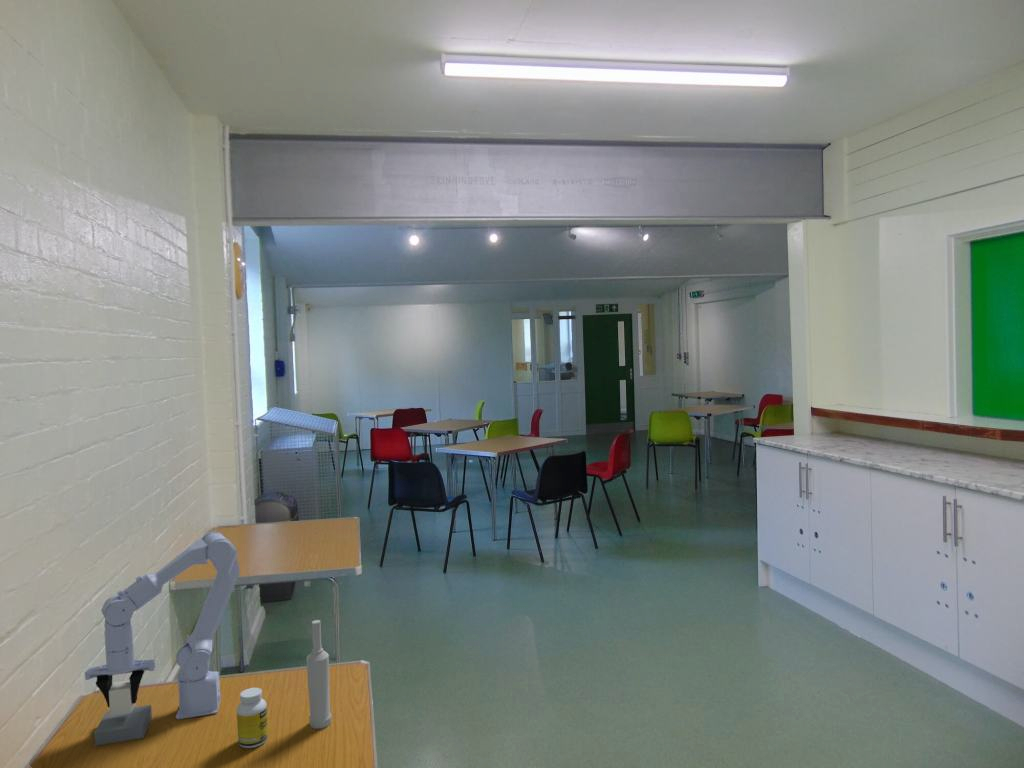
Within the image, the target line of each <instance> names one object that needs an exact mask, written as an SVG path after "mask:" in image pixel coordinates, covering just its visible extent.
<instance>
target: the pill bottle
mask: <svg viewBox="0 0 1024 768" xmlns="http://www.w3.org/2000/svg"><path fill="white" fill-rule="evenodd" d="M262 690H263V689H261V688H260V687H250V688H247V689H244V690H242V691H241V692H240V694H239V697H240V699H239V700H240V703H239V704H238V705H237V707H236V722H237V723H236V724H237V725H236V726H237V740H238V741H237V743H238V745H239V746H240V747H242V748H244V749H253V748H257V747H259V746H261V745H263V744H264V743H265V742H266V741H267V740H268V739H269V732H268V731H269V729H268V728H269V727H268V709H267V706H268V705H267V701H266V700H265V699H263V698H262V697H263V691H262Z"/></svg>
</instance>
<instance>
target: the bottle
mask: <svg viewBox="0 0 1024 768" xmlns="http://www.w3.org/2000/svg"><path fill="white" fill-rule="evenodd" d="M321 625H322V623H321V620H320V619H315V620H313V621H311V631H312V633H311V634H312V635H311V636H312V649H311V652H310V653H309V654H308V655H307V656H306V671H307V687H308V700H309V717H308V719H309V720H308V721H309V725H310V727H311V728H312V729H315V730H320V729H324V728H327V727H328V726H330V724H331V723H332V712H331V707H330V706H331V705H330V704H331V702H330V701H331V698H330V696H331V695H330V654H329V653H328V652H327V651H325V650H324V648H323V647H322V629H321V628H322V626H321Z"/></svg>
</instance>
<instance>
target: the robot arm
mask: <svg viewBox="0 0 1024 768" xmlns="http://www.w3.org/2000/svg"><path fill="white" fill-rule="evenodd" d="M208 560H209V561H210V562H211V563H212V565H213V567H214V569H215V571H216V574H215V577H214V580H213V582H212V585H211V587H210V590H209V592H208V595H207V597H206V600H205V601H204V605H203V607H202V610H201V611H200V614H199V615H198V619H197V621H196V624H195V625H194V626H195V627H194V629H193V630H192V631H193V632H192V633H191V634H190V635H189V636H188V637H187V638H186V641H185V642H184V644H183V645H182V646H181V647H180V648H179V649H178V651H177V653H176V655H175V658H176V659H175V661H176V663H177V665H178V666H179V667H180V671H179V673H178V675H177V686H178V704H179V705H178V706H179V708H178V710H177V712H176V715H175V720H184V719H189V718H195V717H201V716H202V717H203V716H207V715H213V714H214V715H215V714H217V713H218V712H219V707H220V703H221V699H222V697H221V687H220V686H221V685H220V672H219V671H212V670H210V669H211V661H210V659H211V656H212V653H213V641H214V637H215V635H216V633H217V630H218V628H219V625H220V623H221V621H222V618H223V615H224V613H225V610H226V609H227V608H226V607H227V606H228V603H229V601H230V599H231V596H232V593H233V591H234V588H235V586H236V583H237V581H238V578H239V576H240V573H241V569H240V565H239V559H238V550H237V549H236V546H235V545H234V544H233V543H232V541H231V540H229V539H228V538H226V537H225V535H224V534H222V533H221V532H219V531H210V532H208V533H206V534H205V535H204V536H202V537H201V538H200V537H199V538H198V539H196V540H195V541H194V542H192V543H191V544H190V546H188V547H187V548H185V550H184V551H182V552H181V553H180V554H178V555H177V556H176V557H174V558H173V559H172V560H171V561H169V562H168V563H167V564H166V565H164V566H163V567H161V568H160V569H159V570H158V571H157V572H155V573H146V574H144V575H143V576H142V575H139V576H137V577H135V580H136V581H135V582H133V583H132V584H130V585H129V586H128V587H126V588H124V589H123V590H118V591H117V593H116V595H112V596H110V597H109V598H107V599H106V600H105V601H104V603H103V604H102V608H101V613H102V615H103V617H104V629H105V630H104V645H105V647H104V649H105V664H103V665H99V666H94V667H93V666H92V667H89V668H86V670H85V671H84V679H85V681H88V680H91V679H94V678H96V681H95V685H96V687H97V688H98V689H99V691H100V692H101V693H102V695H103V698H104V699H105V702H106V704H107V705H106V706H107V707H108V708H110V705H109V690H110V688H111V686H112V685H113V676H117V675H123V674H130V675H129V680H130V684H131V692H132V695H131V699H132V704H134V703H136V704H137V701H138V693H139V688H140V684H141V683H142V682H141V681H142V678H143V677H144V673H145V671H149V672H152V671H154V670H155V669H156V659H134V658H135V655H134V641H133V640H134V639H133V625H132V624H131V621H132V620H131V619H132V618H133V615H134V612H136V611H138V610H140V609H141V608H142V607H144V606H145V605H146V604H147V603H149V602H150V601H152V600H153V599H154V598H156V597H157V596H158V595H160V594H161V593H162V590H163V586H164V585H165V584H166V583H168V582H170V581H171V580H173V579H174V578H176V577H177V576H178V575H180V574H182V573H183V572H184V571H186V570H187V569H189V568H190V567H192V566H194V565H208Z"/></svg>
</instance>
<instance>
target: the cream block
mask: <svg viewBox="0 0 1024 768" xmlns="http://www.w3.org/2000/svg"><path fill="white" fill-rule="evenodd" d="M131 695H132V692H131V684H130V679H129V680H123V681H121V680H120V681H115V682H112V686H111V688H110V690H109V705H110V707H109V711H110V716H114V715H121V714H127V713H132V711H133V709H134V707H136V704H137V702H136V703H134V704H132V699H131Z"/></svg>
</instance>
